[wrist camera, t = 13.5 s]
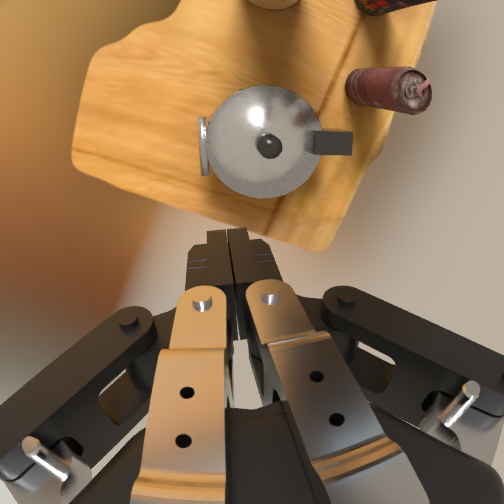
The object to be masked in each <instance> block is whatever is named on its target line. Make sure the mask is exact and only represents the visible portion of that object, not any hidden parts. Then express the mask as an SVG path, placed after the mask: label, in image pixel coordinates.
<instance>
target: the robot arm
mask: <svg viewBox="0 0 504 504" xmlns="http://www.w3.org/2000/svg"><path fill="white" fill-rule="evenodd" d="M249 1H250V2H251V3H253V4H255V5H257V6H259V7H262V8H265V9H283V8H287V7H289V6H291V5H293V4H294V3H296V2H297V1H298V0H249ZM227 235H228V242H227ZM227 235H226V230H214V231H207V244H201V245H194V246H193V247H192V248H191V250H190V251H189V252H188V260H187V261H188V262H187V272H186V285H185V292H184V293H183V294H182V295H181V296H180V298H179V299H178V304H177V307H176V308H174V309H173V310H170V311H168V312H165V313H162V314H159V315H156V316H153V317H152V314H151V313H150V311H149V310H147V309H145V308H143V307H139V306H131V307H126V308H123V309H120V310H118V311H117V312H115V313H114V314H113V315H111V316H110V317H109V318H107V319H106V320H105V321H103V322H102V323H101V324H100V325H98V326H97V327H96V328H94V329H93V330H92V331H91V332H89V333H88V334H87V335H86V336H84V337H83V338H82V339H80V340H79V341H78V342H77V343H75V344H74V345H73V346H72V347H70V348H69V349H68V350H66V351H65V352H64V353H63V354H62V355H60V356H59V357H58V358H57V359H55V360H54V361H53V362H52V363H50V364H49V365H48V366H47V367H45V368H44V369H43V370H42V371H41V372H39V373H38V374H37V375H36V376H35V377H33V378H32V379H31V380H30V381H28V382H27V383H26V384H25V385H24V386H23V387H22V388H20V389H19V390H18V391H17V392H16V393H14V394H13V395H12V396H11V397H10V398H8V399H7V400H6V401H5V402H4V403H3V404H2V405H0V479H1V480H2V481H3V482H4V483H5V484H6V486H7V487H8V489H9V490H10V492H11V494H12V495H13V497H14V498H15V500H16V501H17V503H18V504H504V485H503V482H502V479H501V477H500V476H499V474H498V473H497V472H496V470H495V469H494V468H493V467H491V464H492V461H493V458H494V455H495V452H496V449H497V445H498V442H499V438H500V434H501V431H502V427H503V423H504V355H501V354H499V353H497V352H495V351H493V350H491V349H489V348H486V347H484V346H482V345H480V344H477V343H476V342H473V341H471V340H469V339H467V338H465V337H463V336H460V335H458V334H456V333H454V332H452V331H450V330H447V329H445V328H443V327H440V326H439V325H436V324H434V323H432V322H430V321H428V320H425V319H423V318H421V317H419V316H417V315H414V314H412V313H410V312H408V311H406V310H403V309H401V308H399V307H397V306H394V305H392V304H390V303H388V302H386V301H384V300H381V299H379V298H377V297H375V296H372V295H370V294H368V293H366V292H363V291H361V290H359V289H357V288H354V287H350V286H336V287H332V288H330V289H328V290H327V291H326V292H325V293H324V295H323V299H317V298H307V297H302V296H299V295H296V294H295V292H294V291H293V289H292V287H291V286H290V285H288V284H287V283H285V282H283V280H282V277H281V275H280V272H279V269H278V267H277V264H276V262H275V260H274V257H273V254H272V252H271V249H270V246H269V245H268V244H267V243H266V242H264V241H263V240H262V239H254V240H250V239H249V236H248V232H247V229H246V228H236V229H228V230H227ZM236 316H237V320H236ZM237 322H238V329H239V335H240V340H243V339H247V342H248V348H249V359H250V363H251V367H252V370H253V374H254V377H255V381H256V384H257V387H258V391H259V394H260V398H261V401H262V405H263V407H261V408H258V409H254V410H248V409H239V408H235V406H234V380H233V357H232V356H233V353H234V347H233V341H234V340H238V332H237ZM359 341H360V342H362V343H364V344H366V345H367V346H369V347H371V348H373V349H375V350H378V351H379V352H381V353H383V354H385V355H388V356H389V357H391V358H392V359H393V360H394V362H395V364H396V365H393V364H390V363H388V362H386V361H384V360H382V359H380V358H378V357H376V356H374V355H372V354H370V353H369V352H367V351H365V350H363V349H361V348H359V347H358V344H359ZM124 369H126V372H125V373H124V374H123V375H122V376H121V377H119V378H118V379H117V380H116V381H115V382H114V383H113V384H112V385H111V386H110V387H109V388H107V389H106V390H105V391H104V392H103V393H102V394H101V395H100V396H99V394H100V392H101V390H102V389H103V388H104V387H106V386H107V385H108V384H109V383H110V382H111V381H112V380H113V379H114V378H115V377H117V376H118V375H119V374H120V373H121V372H122V371H123V370H124ZM98 396H99V397H98ZM369 402H370V403H369ZM147 413H148V418H147V425H146V428H144V429H142V430H141V431H139V432H138V433H137V434H136V435H134V436H133V437H132V438H131V439H130V440H129V441H128V442H127V443H126V444H125V446H123V447H122V449H121V450H120V451H119V452H118V453H117V454H116V455H115V456H114V457H113V458H112V459H111V460H110V461H109V462H108V464H106V466H105V467H104V468H103V469H102V470H101V471H100V472H99V473H98V474H97V475H96V476H95V477H94V478H93V479H92V472H91V469H92V468H93V467H94V466H95V465H96V464H97V463H98V462H99V461H100V460H101V459H102V458H103V457H104V456H105V455H106V454H107V453H108V452H109V451H110V450H111V449H112V448H113V447H114V446H115V445H116V444H118V442H120V440H122V439H123V438H124V437H125V435H127V434H128V433H129V432H130V431H131V430H132V429H133V428H134V427H135V425H137V424H138V422H139V421H140V420H141V419H142V418H143V417H144V416H145V415H146V414H147ZM392 414H393V415H392ZM394 415H395V416H394ZM396 416H397V417H396ZM399 418H400V419H399ZM401 419H402V420H401ZM403 420H404V421H403ZM405 421H407V422H408V423H410V424H412V425H414V426H416V427H418V428H420V430H419V429H418V428H416V427H414V426H412V425H410V424H408V423H406V422H405Z"/></svg>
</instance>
